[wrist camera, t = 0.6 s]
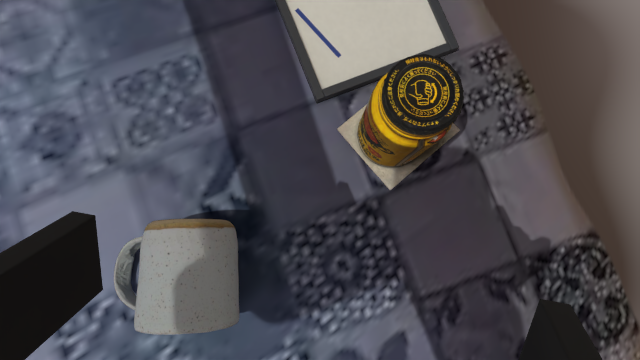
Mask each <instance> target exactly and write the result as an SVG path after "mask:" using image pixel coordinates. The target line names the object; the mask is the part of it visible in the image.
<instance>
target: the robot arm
mask: <svg viewBox="0 0 640 360" xmlns="http://www.w3.org/2000/svg"><path fill="white" fill-rule="evenodd" d="M102 290H103V286H102V277H101V267H100V258H99V248H98V239H97V229H96V220H95V215H90V214H84V213H79V212H74V211H72V212H71V213H69V214H67V215H66V216H64V217H62V218H60V219H59V220H57V221H55V222H53V223H52V224H50V225H48V226H46V227H45V228H43V229H41V230H40V231H38V232H36V233H34V234H33V235H31V236H29V237H27V238H26V239H24V240H22V241H20V242H19V243H17V244H15V245H14V246H12V247H10V248H8V249H7V250H5V251H3V252H1V253H0V360H25V359H26V358H27V357H28V356H29V355H30V354H31V353H33V352H34V351H35V350H36V349H37V348H38V347H39V346H40V345H42V344H43V343H44V342H45V341H46V340H47V339H48V338H49V337H50V336H52V335H53V334H54V333H55V332H56V331H57V330H58V329H59V328H61V327H62V326H63V325H64V324H65V323H66V322H67V321H68V320H69V319H71V318H72V317H73V316H74V315H75V314H76V313H77V312H78V311H80V310H81V309H82V308H83V307H84V306H85V305H86V304H87V303H88V302H90V301H91V300H92V299H93V298H94V297H95V296H96V295H97V294H99V293H100V292H101V291H102ZM519 360H602V358H601V356H600V355H599V353H598V351H597V350H596V348H595V346H594V344H593V343H592V341H591V339H590V338H589V336H588V334H587V332H586V331H585V329H584V327H583V326H582V324H581V322H580V320H579V319H578V317H577V315H576V314H575V312H574V310H573V308H572V307H571V305H569V304H564V303H559V302H553V301H548V300H543V299H540V301H539V303H538V306H537V309H536V312H535V315H534V318H533V320H532V323H531V326H530V329H529V332H528V335H527V337H526V340H525V343H524V346H523V349H522V352H521V354H520V357H519Z"/></svg>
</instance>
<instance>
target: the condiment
mask: <svg viewBox="0 0 640 360" xmlns="http://www.w3.org/2000/svg"><path fill="white" fill-rule="evenodd" d="M463 91H464V90H463V87H462V83H461V79H460V77H459V75H458V74H457V72H456V71H455V70H454V69H453V68H452V66H451V65H450V64H448V63H447V62H446V61H444V60H443V59H441V58H439V57H435V56H432V55H428V54H421V55H415V56H410V57H407V58H405V59H403V60H401V61H400V62H398V63H397V64H396V65H395V66H393V67H392V68H391V69H390V71H389V72H388V73H387V74H386V75H384V76H383V77H382V78H381V80H380V81H379V82H378V83H377V85H376V87H375V89H374V90H373V92H372V94H371V96H370V99H369V101H368V104H367V105H366V106H364V107H363V108H362V109H361V110H360V111H358V112H357V113H356V114H355V115H354V116H352V117H351V118H350V119H349V120H347V121H346V122H345V123H344V124H343V125H341V126H340V127H339V128H338V129H337V130H338V131H339V132H340V133H341V134H342V136H343V137H344V138H345V139H346V140H347V141H348V143H349V144H350V145H351V146H352V147H353V148H354V150H355V151H356V152H357V153H358V154H359V155H360V157H361V158H362V159H363V160H364V161H365V162H366V163H367V165H368V166H369V167H370V168H371V169H372V170H373V171H374V173H375V174H376V175H377V176H378V177H379V178H380V179H381V180H382V181H383V183H384V184H385V185H386V186H387V187H388V188H389V190H391V189H392V188H394V187H395V186H396V185H397V184H398V183H399V182H401V181H402V180H403V179H404V178H405V177H406V176H407V175H409V174H410V173H411V172H412V171H413V170H414V169H416V168H417V167H418V166H419V165H420V164H421V163H423V162H424V161H425V160H426V159H427V158H428V157H430V156H431V155H432V154H433V153H434V152H435V151H437V150H438V149H439V148H440V147H441V146H442V145H444V144H445V143H446V142H447V141H448V140H449V139H450V138H452V137H453V136H454V135H455V134H456V133H457V132H459V131H460V130H459V129H458V128H457V126H456V125H455V124H454V123H453V122H454V121H455V120H456V118H457V116H458V115H459V114H460V113H461V108H462V106H463V98H464V96H463Z"/></svg>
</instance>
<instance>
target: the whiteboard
mask: <svg viewBox="0 0 640 360" xmlns="http://www.w3.org/2000/svg"><path fill="white" fill-rule="evenodd" d="M275 2H276V4H277V7H278V9H279V12H280V14H281V17H282V19H283V22H284V24H285V27H286V29H287V32H288V34H289V37H290V39H291V41H292V44H293V46H294V49H295V51H296V54H297V56H298V59H299V61H300V64H301V66H302V69H303V71H304V74H305V76H306V79H307V81H308V84H309V86H310V88H311V91H312V93H313V96H314V98H315V101H316V103H319V102H321V101H324V100H327V99H329V98H332V97H335V96H337V95H340V94H343V93H345V92H348V91H351V90H353V89H356V88H359V87H361V86H364V85H367V84H369V83H372V82H375V81H377V80H380V79H381V78H382V77H383V76H384V75H386V74H387V73H388V72H389V71H390V69H391V68H392V67H393V66H395V65H396V64H397V63H398V62H400V61H401V60H403V59H405V58H407V57H410V56H415V55H421V54H428V55H432V56H435V57H442V56H444V55H447V54H449V53H452V52H455V51H456V50H457V49H458V47H459V46H458V43H457V41H456V39H455V37H454V34H453V32H452V30H451V28H450V26H449V23H448V21H447V19H446V17H445V14H444V12H443V10H442V8H441V6H440V3H439V1H438V0H275Z"/></svg>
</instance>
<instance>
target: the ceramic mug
mask: <svg viewBox="0 0 640 360" xmlns="http://www.w3.org/2000/svg"><path fill="white" fill-rule="evenodd" d="M140 247H141V248H140ZM139 248H140V268H139V279H138V288H137V296H136V295H135V293H134V292H133V290H132V285H131V272H132V266H133V261H134V255H135V253H136V252H137V250H138V249H139ZM114 285H115V289H116V292H117V295H118V296H119V298H120V299H121V301H122V302H123V303H124V304H125V305H127V306H128V307H130V308H132V309H134V310H135V319H134V327H135V330H136V331H139V332H141V333H149V334H158V335H162V334H165V335H166V334H172V335H173V334H188V333H203V332H210V331H215V330H218V329H225V328H228V327H230V326H233V325H235V324H236V323H238V321H239V276H238V241H237V235H236V230H235V227H234V225H233V224H232V223H231V222H229V221H227V220H219V219H169V220H158V221H153V222H151V223H150V224H148V225H147V227H146V228H145V231H144V234H143V236H142V237H139V238H135V239H133V240H131V241H129V242H128V243H127V244H126V245H125V246H124V247H123V248H122V250H121V251H120V253H119V255H118V258H117V261H116V264H115V270H114Z"/></svg>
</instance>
